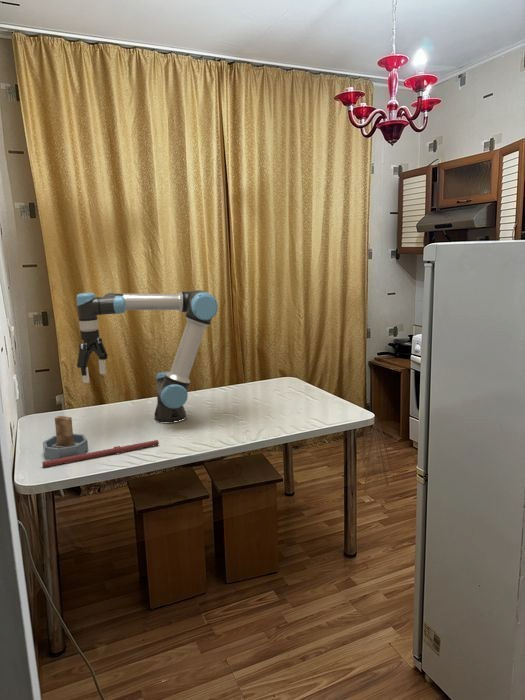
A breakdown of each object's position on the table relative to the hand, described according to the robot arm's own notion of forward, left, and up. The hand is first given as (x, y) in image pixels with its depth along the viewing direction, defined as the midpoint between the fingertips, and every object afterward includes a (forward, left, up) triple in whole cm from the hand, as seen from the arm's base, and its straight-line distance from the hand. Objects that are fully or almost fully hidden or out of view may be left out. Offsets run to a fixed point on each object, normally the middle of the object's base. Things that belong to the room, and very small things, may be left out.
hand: (94, 378), depth 220 cm
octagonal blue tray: (+3, +20, -26) cm, 33 cm away
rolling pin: (-14, +19, -27) cm, 36 cm away
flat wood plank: (+3, +20, -25) cm, 32 cm away
